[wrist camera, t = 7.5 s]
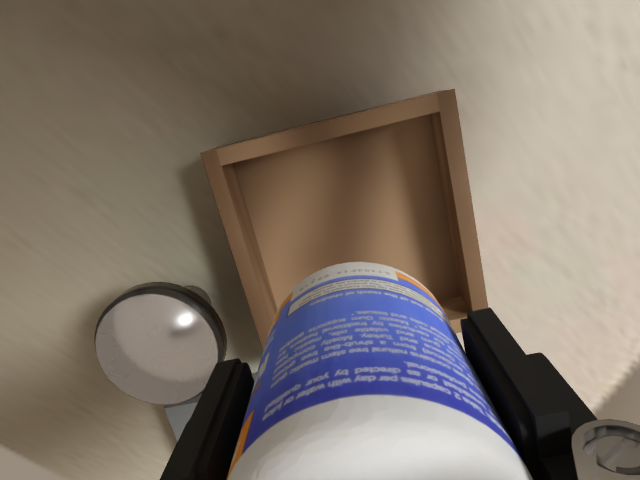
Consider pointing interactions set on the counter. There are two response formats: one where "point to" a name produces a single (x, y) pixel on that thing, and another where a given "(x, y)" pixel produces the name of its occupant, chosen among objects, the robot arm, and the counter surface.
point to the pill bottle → (369, 389)
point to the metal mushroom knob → (160, 342)
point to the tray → (353, 203)
